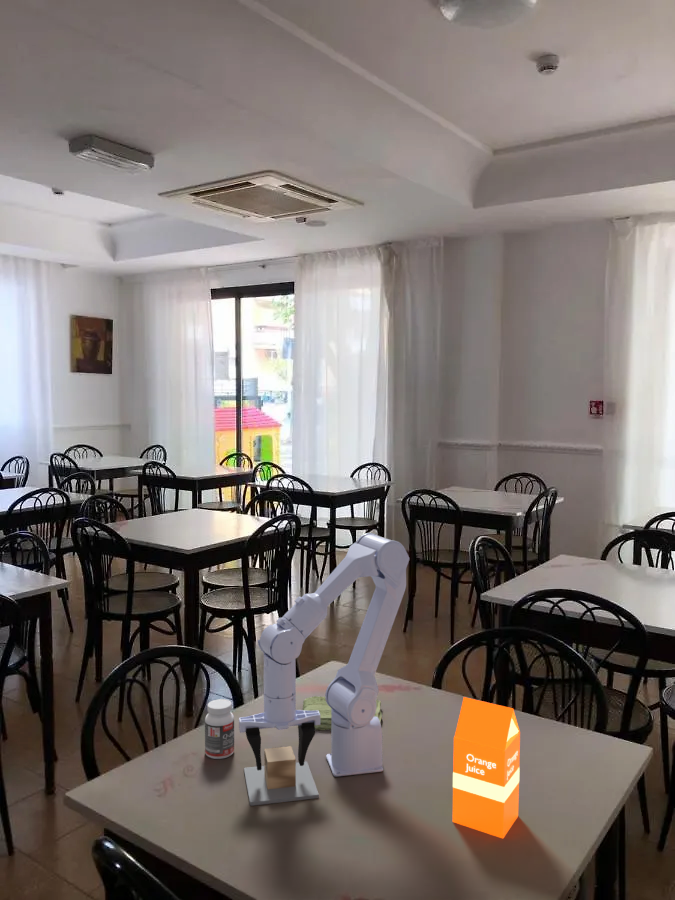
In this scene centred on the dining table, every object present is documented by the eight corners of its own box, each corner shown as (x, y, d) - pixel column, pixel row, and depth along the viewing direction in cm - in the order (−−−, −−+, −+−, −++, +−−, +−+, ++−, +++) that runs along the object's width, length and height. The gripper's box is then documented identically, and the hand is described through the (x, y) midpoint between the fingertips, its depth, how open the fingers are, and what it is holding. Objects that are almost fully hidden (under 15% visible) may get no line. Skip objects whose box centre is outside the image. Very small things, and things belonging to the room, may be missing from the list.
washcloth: (382, 734, 155) (382, 719, 154) (298, 732, 155) (298, 717, 155) (381, 707, 168) (381, 694, 167) (303, 706, 168) (303, 692, 168)
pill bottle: (228, 761, 142) (228, 711, 142) (200, 758, 143) (200, 708, 143) (238, 747, 148) (238, 699, 147) (211, 744, 149) (211, 696, 148)
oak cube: (291, 772, 137) (291, 746, 137) (295, 786, 132) (295, 759, 132) (264, 775, 136) (264, 748, 136) (267, 789, 131) (267, 762, 131)
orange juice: (503, 839, 118) (505, 717, 116) (451, 822, 122) (453, 704, 121) (519, 815, 124) (521, 700, 123) (469, 800, 129) (471, 688, 127)
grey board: (307, 764, 141) (306, 761, 141) (318, 797, 130) (318, 794, 130) (243, 770, 139) (243, 767, 139) (250, 805, 127) (250, 802, 127)
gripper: (241, 705, 127) (241, 781, 128) (323, 697, 130) (323, 772, 131) (237, 689, 134) (238, 761, 135) (316, 682, 137) (316, 753, 138)
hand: (280, 765), depth 134 cm, fingers open, 7 cm apart
